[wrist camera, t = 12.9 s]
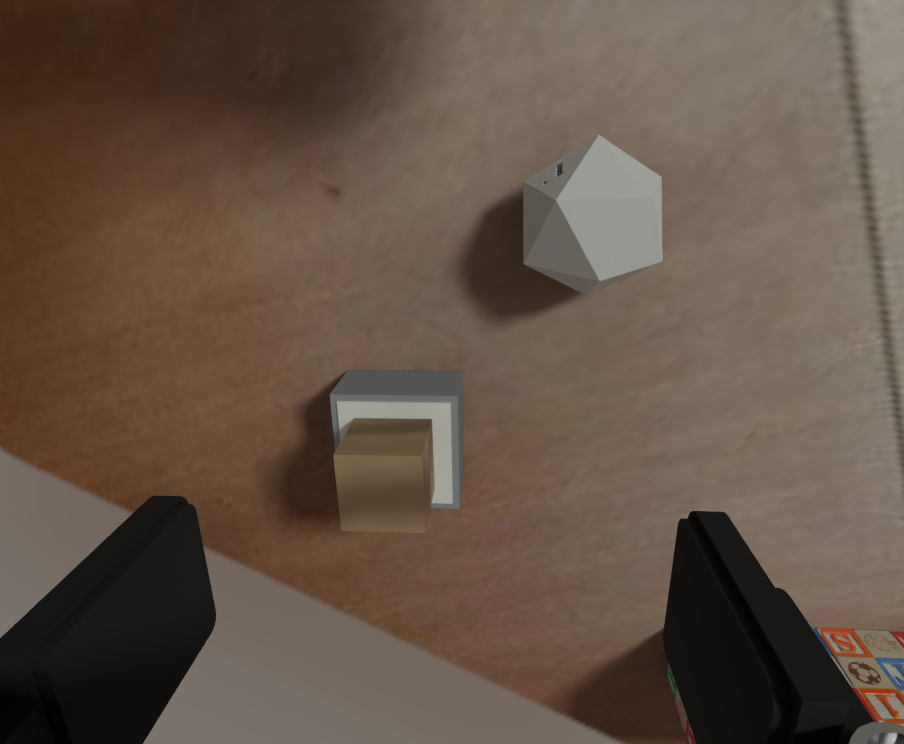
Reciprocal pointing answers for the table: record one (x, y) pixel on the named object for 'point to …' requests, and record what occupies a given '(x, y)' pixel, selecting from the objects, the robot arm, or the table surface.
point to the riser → (410, 416)
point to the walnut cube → (385, 475)
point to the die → (592, 217)
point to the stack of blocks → (852, 671)
